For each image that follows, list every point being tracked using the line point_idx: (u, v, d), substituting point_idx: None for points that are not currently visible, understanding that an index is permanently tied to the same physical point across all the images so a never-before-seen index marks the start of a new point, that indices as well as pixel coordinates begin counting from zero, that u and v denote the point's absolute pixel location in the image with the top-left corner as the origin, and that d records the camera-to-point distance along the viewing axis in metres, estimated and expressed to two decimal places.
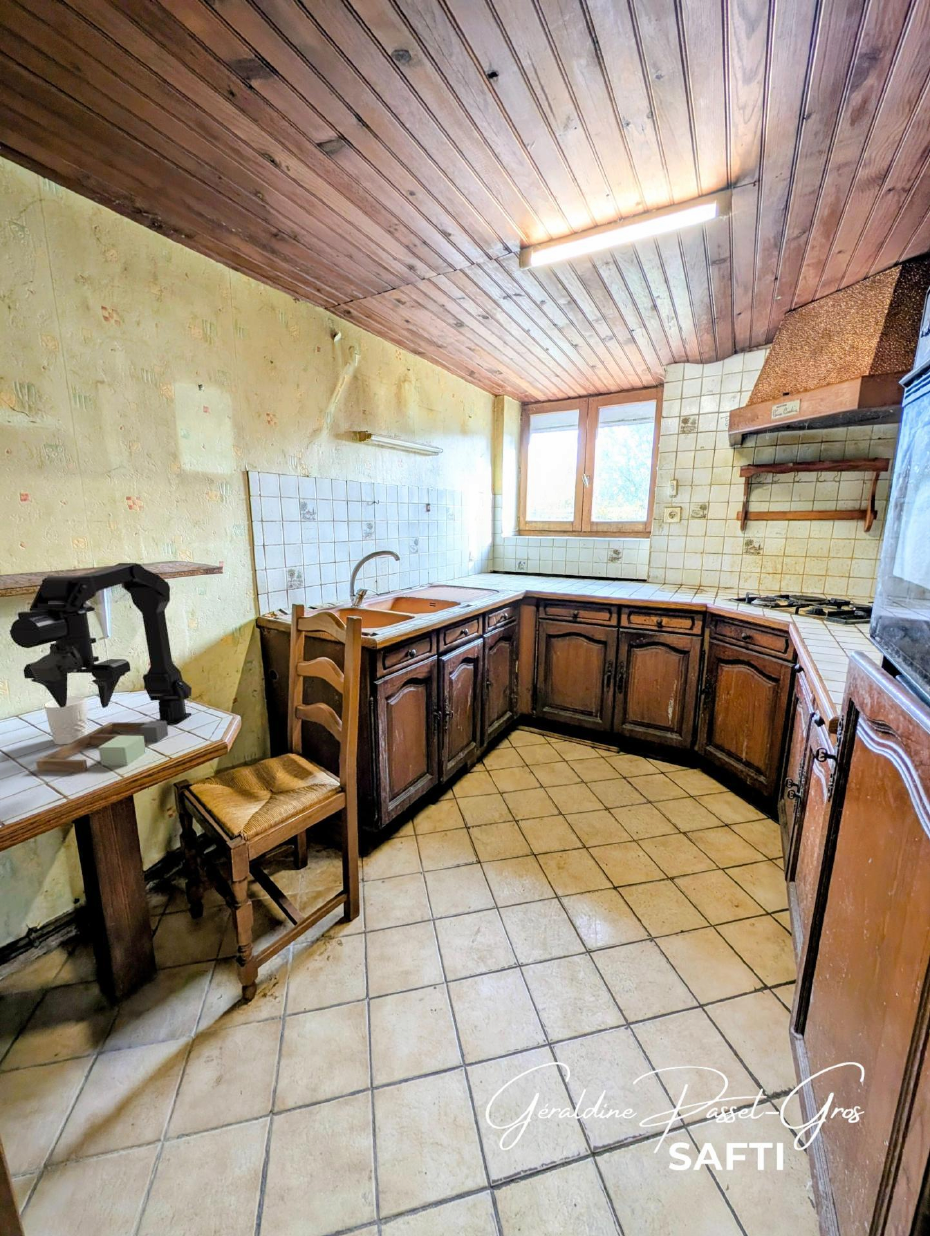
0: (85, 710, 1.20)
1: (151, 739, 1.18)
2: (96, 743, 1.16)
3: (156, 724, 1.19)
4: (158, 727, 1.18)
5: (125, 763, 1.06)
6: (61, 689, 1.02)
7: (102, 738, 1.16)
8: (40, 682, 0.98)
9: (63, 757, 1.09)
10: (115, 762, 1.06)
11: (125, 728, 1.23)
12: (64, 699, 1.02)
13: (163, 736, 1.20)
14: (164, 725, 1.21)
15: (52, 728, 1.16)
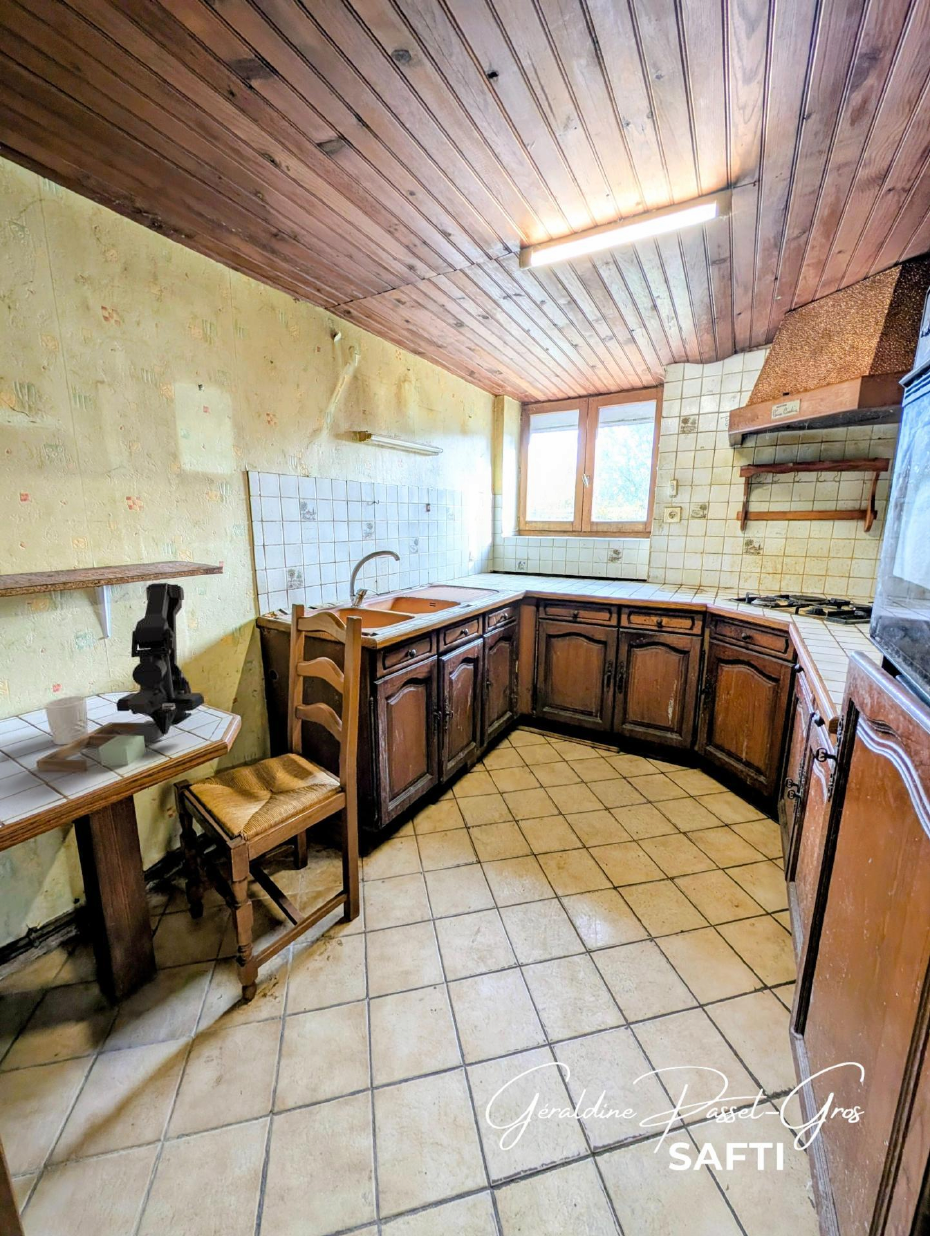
0: (85, 710, 1.20)
1: (147, 739, 1.18)
2: (96, 743, 1.16)
3: (152, 724, 1.19)
4: (154, 726, 1.18)
5: (126, 763, 1.06)
6: None
7: (102, 738, 1.16)
8: (148, 714, 1.16)
9: (63, 757, 1.09)
10: (116, 762, 1.06)
11: (125, 728, 1.23)
12: None
13: (159, 736, 1.20)
14: None
15: (52, 728, 1.16)
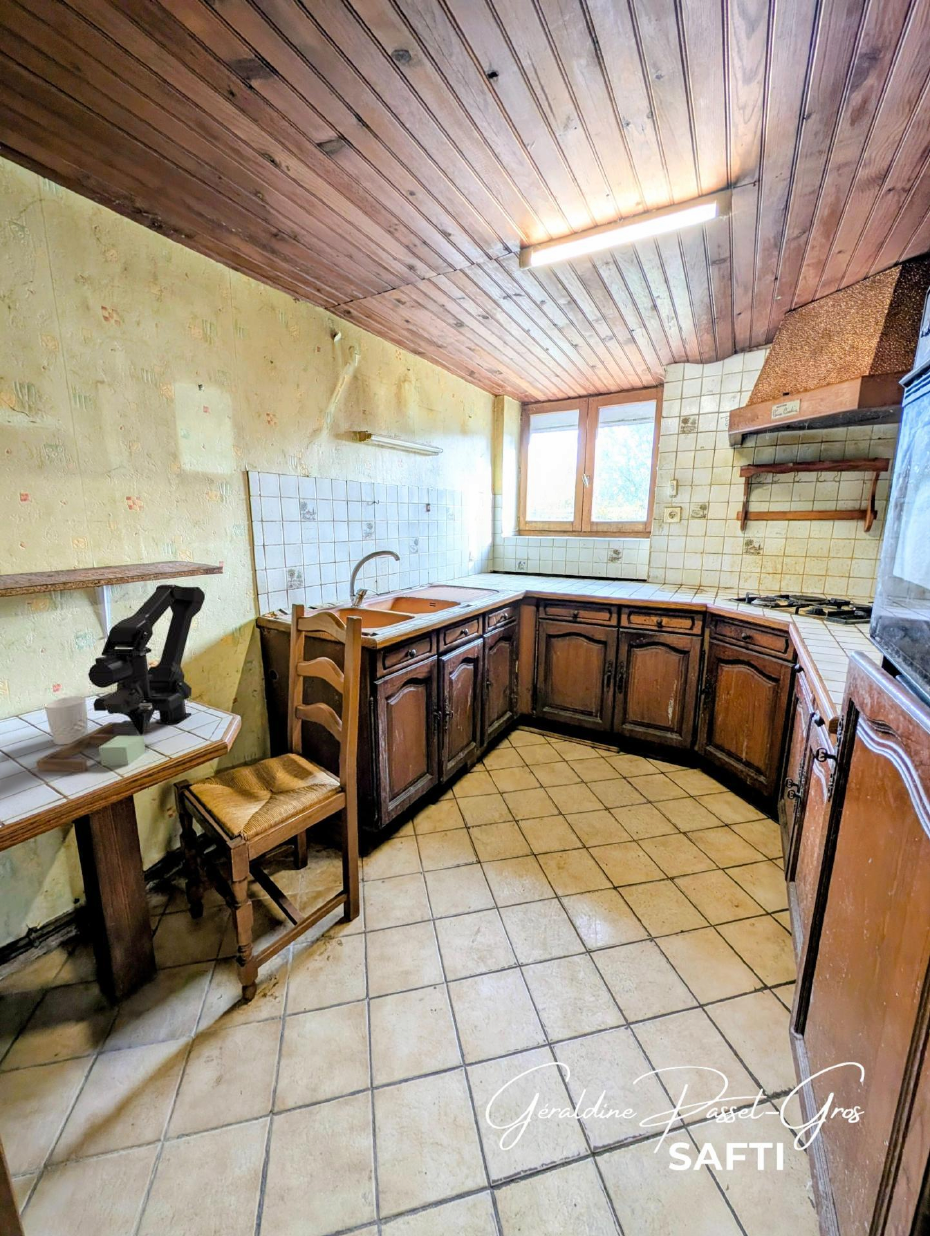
0: (85, 710, 1.20)
1: None
2: (96, 743, 1.16)
3: (130, 724, 1.19)
4: (132, 726, 1.18)
5: (126, 763, 1.06)
6: None
7: (102, 738, 1.16)
8: (125, 714, 1.16)
9: (63, 757, 1.09)
10: (116, 762, 1.06)
11: None
12: None
13: None
14: None
15: (52, 728, 1.16)
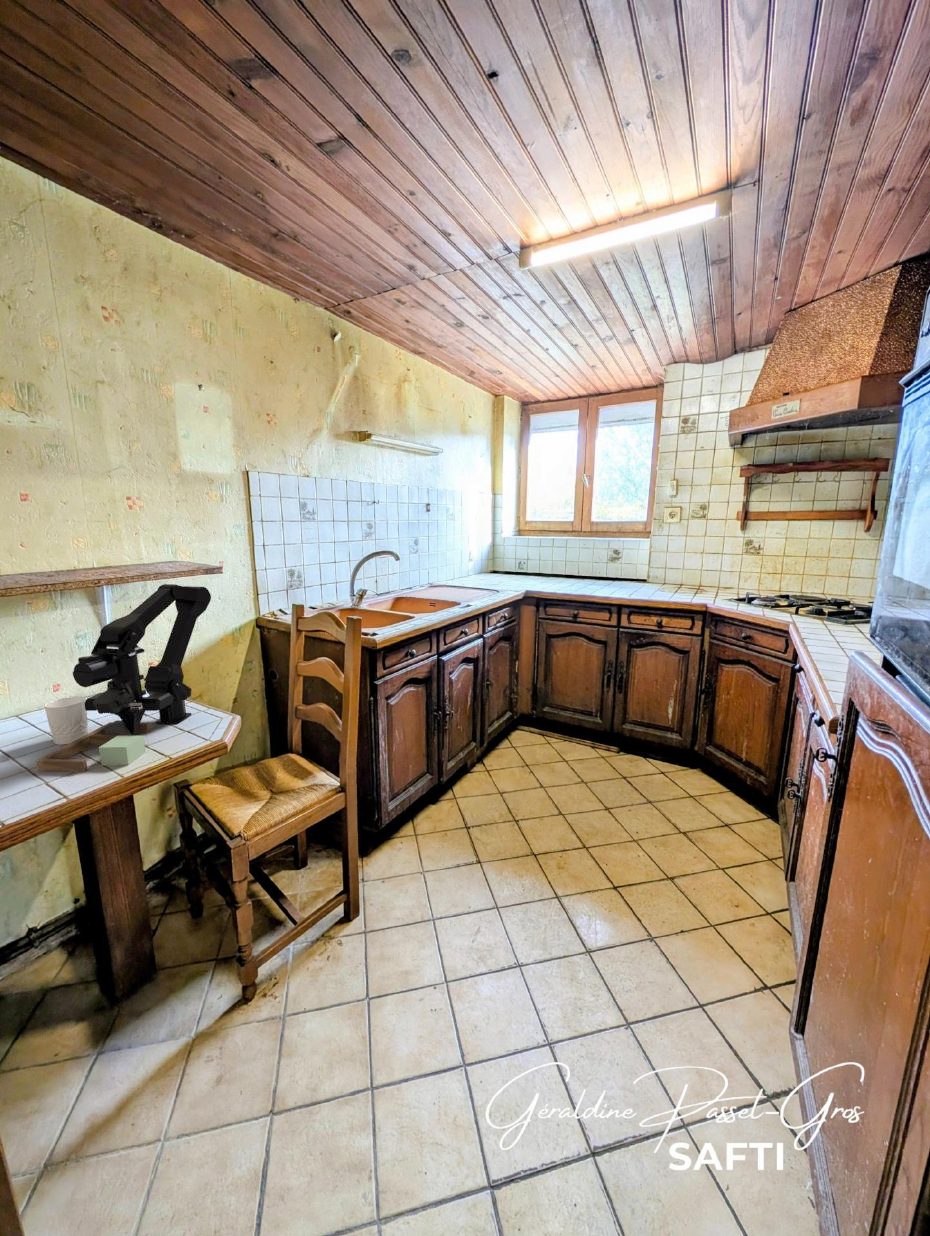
0: (85, 710, 1.20)
1: None
2: (96, 743, 1.16)
3: (121, 723, 1.19)
4: (123, 726, 1.18)
5: (126, 763, 1.06)
6: None
7: (102, 738, 1.16)
8: (116, 713, 1.16)
9: (63, 757, 1.09)
10: (116, 762, 1.06)
11: None
12: None
13: (128, 735, 1.20)
14: None
15: (52, 728, 1.16)
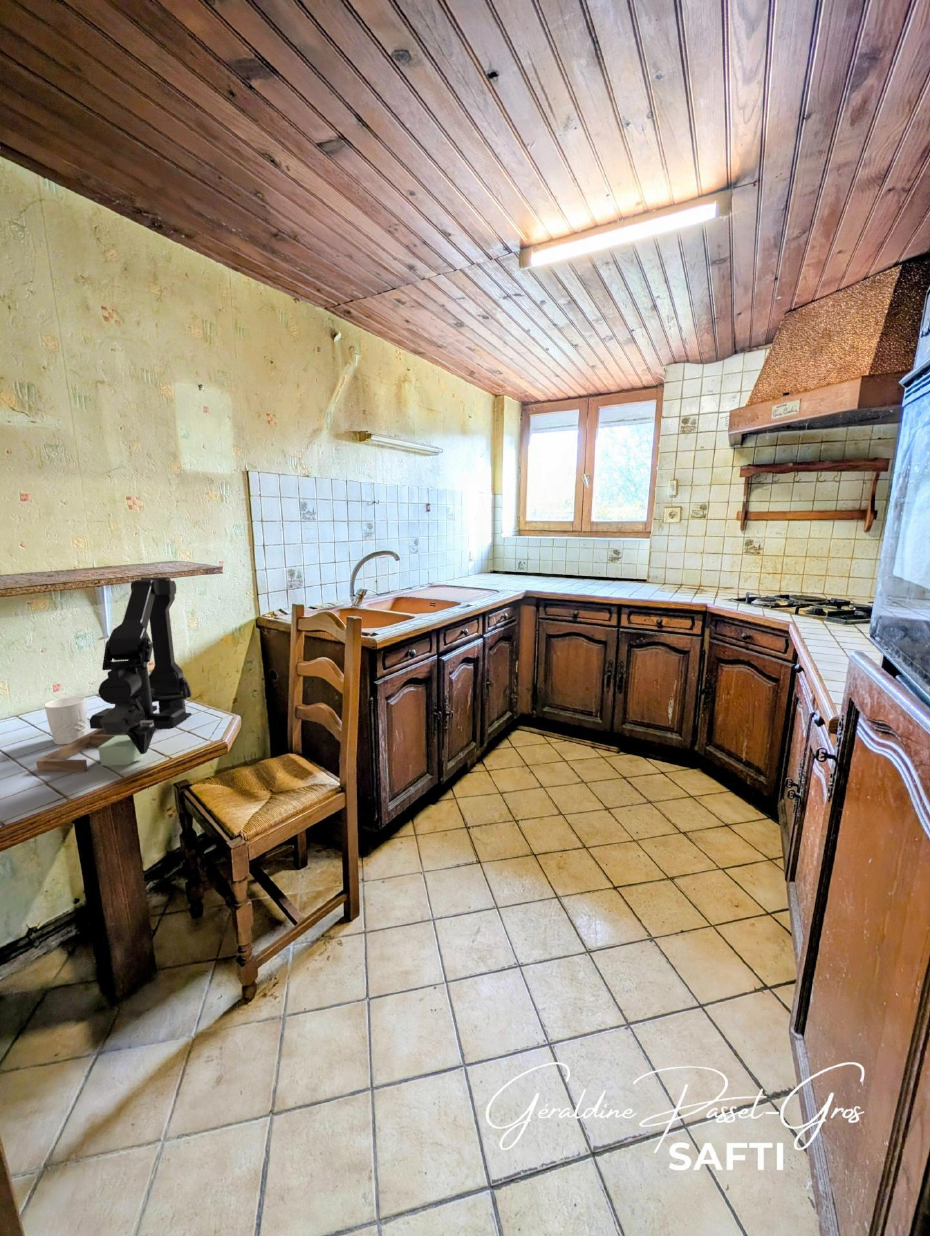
0: (85, 710, 1.20)
1: None
2: (96, 743, 1.16)
3: None
4: None
5: (126, 762, 1.07)
6: None
7: (102, 738, 1.16)
8: (124, 732, 1.05)
9: (63, 757, 1.09)
10: (116, 762, 1.06)
11: None
12: None
13: None
14: None
15: (52, 728, 1.16)
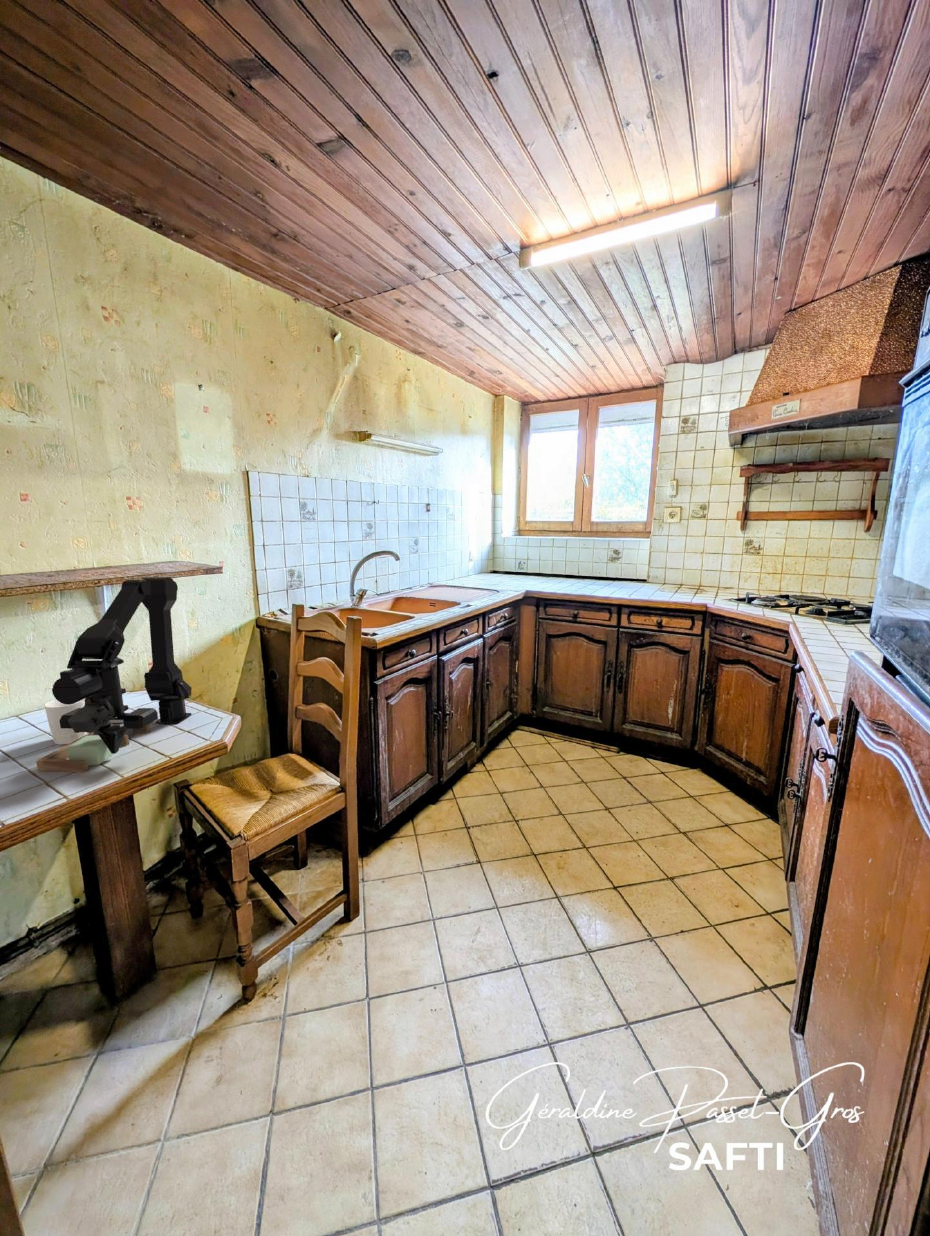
0: None
1: None
2: None
3: None
4: None
5: (96, 762, 1.06)
6: None
7: None
8: (94, 731, 1.06)
9: (63, 757, 1.09)
10: None
11: None
12: None
13: (128, 736, 1.20)
14: None
15: (52, 728, 1.16)
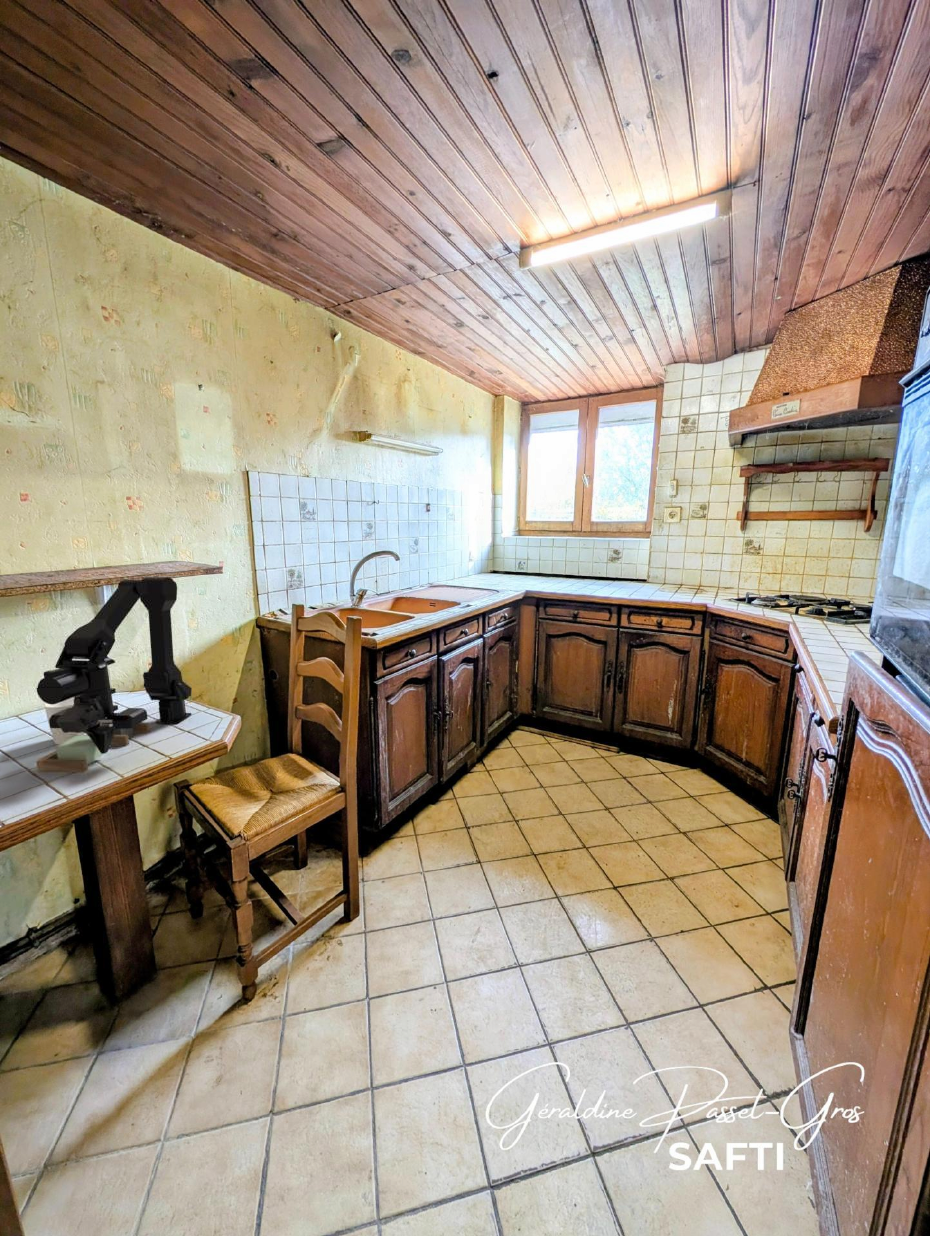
0: None
1: None
2: None
3: None
4: None
5: None
6: None
7: None
8: (84, 731, 1.06)
9: None
10: None
11: None
12: None
13: (128, 736, 1.20)
14: None
15: (52, 728, 1.16)
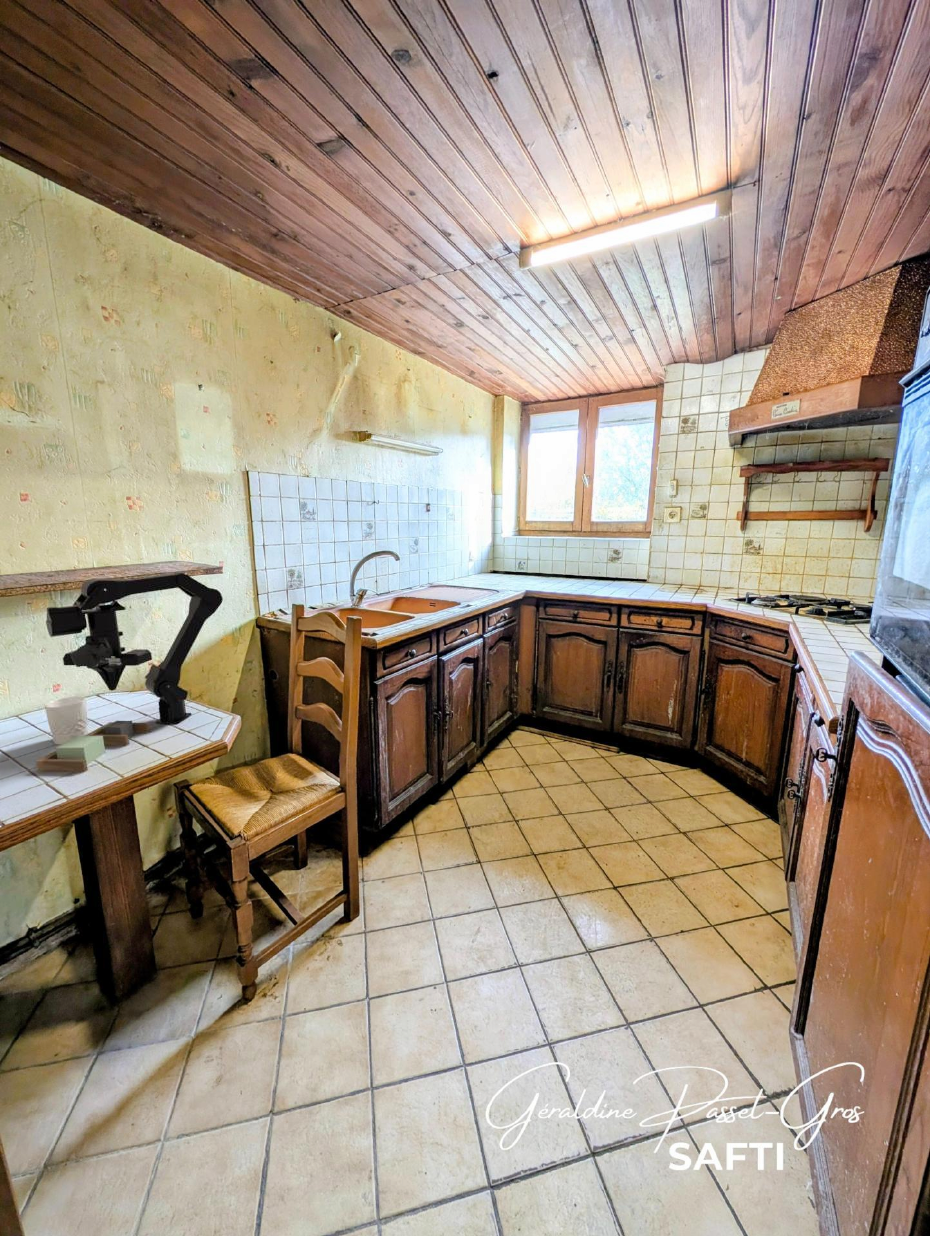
0: (85, 710, 1.20)
1: None
2: None
3: (121, 724, 1.19)
4: (123, 726, 1.18)
5: None
6: None
7: None
8: (94, 668, 1.17)
9: None
10: None
11: None
12: None
13: (128, 736, 1.20)
14: (130, 725, 1.21)
15: (52, 728, 1.16)
